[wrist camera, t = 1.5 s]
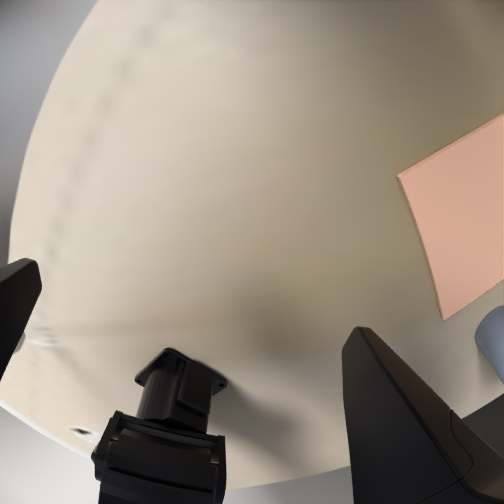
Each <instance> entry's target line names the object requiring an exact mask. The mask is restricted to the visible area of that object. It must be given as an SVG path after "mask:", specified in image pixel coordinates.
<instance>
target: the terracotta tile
mask: <svg viewBox="0 0 504 504" xmlns="http://www.w3.org/2000/svg"><path fill="white" fill-rule="evenodd" d="M396 176H397V179H398V181H399V184H400V186H401V188H402V191H403V193H404V196H405V198H406V201H407V204H408V206H409V209H410V212H411V214H412V217H413V220H414V223H415V226H416V228H417V231H418V234H419V237H420V240H421V243H422V247H423V250H424V253H425V256H426V260H427V263H428V266H429V270H430V273H431V277H432V281H433V285H434V288H435V292H436V296H437V300H438V305H439V309H440V313H441V317H442V319H443V320H446V319H447V318H449V317H450V316H452V315H453V314H455V313H456V312H458V311H459V310H461V309H462V308H464V307H465V306H467V305H468V304H470V303H471V302H473V301H474V300H476V299H477V298H478V297H480V296H481V295H483V294H484V293H485V292H487V291H488V290H489V289H491V288H492V287H493V286H495V285H496V284H497V283H499V282H500V281H501V280H503V279H504V113H503V114H501V115H499V116H497V117H496V118H494V119H492V120H491V121H489V122H487V123H486V124H484V125H482V126H480V127H479V128H477V129H475V130H474V131H472V132H470V133H468V134H467V135H465V136H463V137H462V138H460V139H458V140H457V141H455V142H453V143H451V144H450V145H448V146H446V147H445V148H443V149H441V150H439V151H438V152H436V153H434V154H432V155H431V156H429V157H427V158H426V159H424V160H422V161H420V162H419V163H417V164H415V165H414V166H412V167H410V168H408V169H407V170H405V171H403V172H401V173H400V174H398V175H396Z"/></svg>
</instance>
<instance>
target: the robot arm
mask: <svg viewBox="0 0 504 504" xmlns="http://www.w3.org/2000/svg"><path fill="white" fill-rule="evenodd" d="M41 290H42V282H41V277H40V272H39V267H38V264H37V262H36V261H35V260H32V259H29V258H23V259H20V260H18V261H15V262H13V263H10V264H8V265H5V266H3V267H0V381H1V379H2V376H3V374H4V372H5V369H6V367H7V365H8V363H9V361H10V359H11V357H12V354H13V352H14V350H15V348H16V346H17V344H18V342H19V340H20V338H21V336H22V334H23V332H24V330H25V327H26V325H27V322H28V320H29V318H30V315H31V313H32V311H33V308H34V306H35V304H36V302H37V299H38V297H39V295H40V293H41ZM342 373H343V401H344V410H345V418H346V426H347V434H348V443H349V453H350V463H351V474H352V485H353V497H354V498H353V499H354V504H504V458H503V457H502V456H501V455H499V454H498V453H497V452H496V451H495V450H494V449H493V448H492V447H490V446H489V445H488V444H487V443H486V442H485V441H484V440H483V439H481V438H480V437H479V436H478V435H477V434H476V433H475V432H474V431H473V430H472V429H470V427H469V426H468V425H466V423H464V422H463V420H462V419H461V418H460V417H459V416H458V415H457V414H456V413H455V412H454V411H453V410H452V409H450V407H449V406H448V405H447V404H446V403H445V402H444V401H443V400H442V399H441V398H440V397H439V396H438V395H437V394H436V393H435V392H434V391H433V390H432V389H431V388H430V387H429V386H428V385H427V384H426V383H425V382H424V381H423V380H422V379H421V378H420V377H419V376H418V375H417V374H416V373H415V372H414V371H413V370H412V369H411V368H410V367H409V366H408V365H407V364H406V363H405V362H404V361H403V360H402V359H401V358H400V357H399V356H398V355H397V354H396V353H395V352H394V351H393V350H392V349H391V348H390V347H389V346H388V345H387V344H386V343H385V342H384V341H383V340H382V339H381V338H380V337H379V336H378V335H377V334H376V333H374V332H373V331H372V330H371V329H370V328H368V327H360V326H357V327H355V328H354V329H353V331H352V332H351V334H350V336H349V338H348V339H347V341H346V343H345V344H344V346H343V349H342ZM135 382H136V383H137V384H139V385H141V386H143V387H144V391H143V394H142V398H141V401H140V404H139V408H138V411H137V415H136V417H133V416H130V415H126V414H123V412H120V411H117V410H116V411H115V413H114V415H113V418H112V417H111V418H110V419H109V422H108V425H107V427H106V429H105V431H104V433H103V436H102V438H101V440H100V441H99V443H98V444H97V446H96V447H95V449H94V450H93V452H92V454H91V459H92V461H93V462H94V464H95V478H96V480H99V481H101V484H100V492H99V501H98V504H222V503H223V499H224V495H225V489H226V450H225V436H221V435H218V436H215V435H209V434H207V425H208V416H209V413H210V407H211V399H212V396H213V395H215V394H216V393H218V392H220V391H221V390H223V389H224V388H226V387H227V381H226V380H225V379H223V378H221V377H220V376H218V375H216V374H214V373H212V372H210V371H209V370H207V369H205V368H203V367H202V366H200V365H198V364H196V363H195V362H193V361H191V360H189V359H188V358H186V357H184V356H183V355H181V354H179V353H178V352H176V351H174V350H173V349H171V348H165V349H164V350H163V351H162V352H161V353H160V354H159V355H158V356H157V357H155V358H154V359H153V360H152V361H151V362H150V363H149V364H148V365H147V366H146V367H145V368H144V369H143V370H142V371H140V372H139V373H138V374H137V375H136V377H135Z"/></svg>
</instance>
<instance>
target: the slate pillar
mask: <svg viewBox="0 0 504 504" xmlns="http://www.w3.org/2000/svg"><path fill="white" fill-rule="evenodd" d="M475 340H476V342H477V343H478V345H479V346H480V348H481V349H482V351H483V352H484V354H485V355H486V357H487V358H488V360H489V361H490V363H491V365H492V366H493V368H494V369H495V371H496V373H497V374H498V376H499V378H500V379H501V381H502V383H503V384H504V306H499V307H497V308H495V309H494V310H492V311H491V312H490V313H489V314H488V315H487V316H486V317H485V318H484V319H483V320H482V322H481V323H480V325H479V326H478V328H477V330H476V333H475Z"/></svg>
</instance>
